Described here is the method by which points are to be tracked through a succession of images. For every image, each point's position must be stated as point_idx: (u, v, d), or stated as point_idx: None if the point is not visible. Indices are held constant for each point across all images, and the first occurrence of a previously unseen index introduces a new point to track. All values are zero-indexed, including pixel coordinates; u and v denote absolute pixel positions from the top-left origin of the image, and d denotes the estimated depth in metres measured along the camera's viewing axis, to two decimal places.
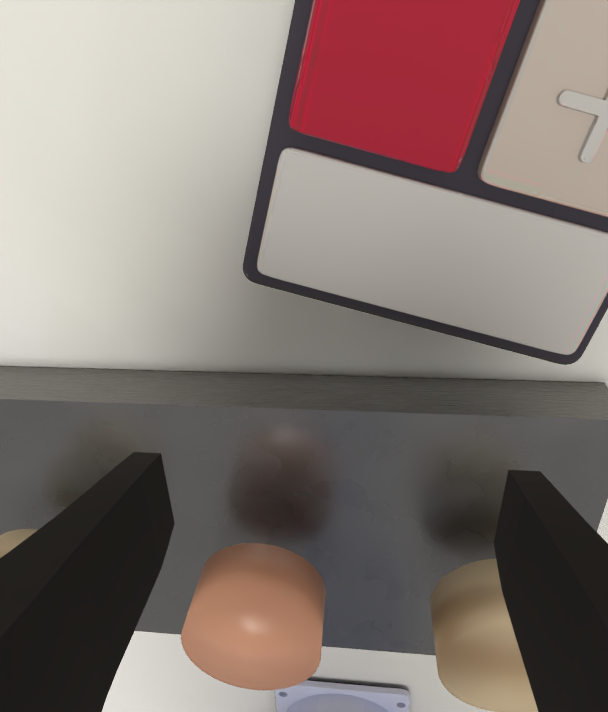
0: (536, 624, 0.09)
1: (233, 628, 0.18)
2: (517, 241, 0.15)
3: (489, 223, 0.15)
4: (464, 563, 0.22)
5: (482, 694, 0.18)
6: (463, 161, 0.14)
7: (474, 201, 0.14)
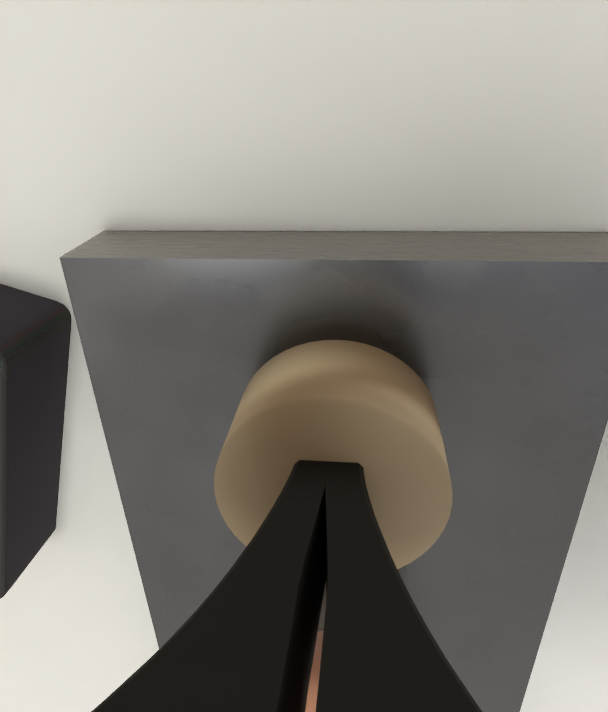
0: None
1: None
2: None
3: None
4: None
5: (400, 532, 0.11)
6: None
7: None
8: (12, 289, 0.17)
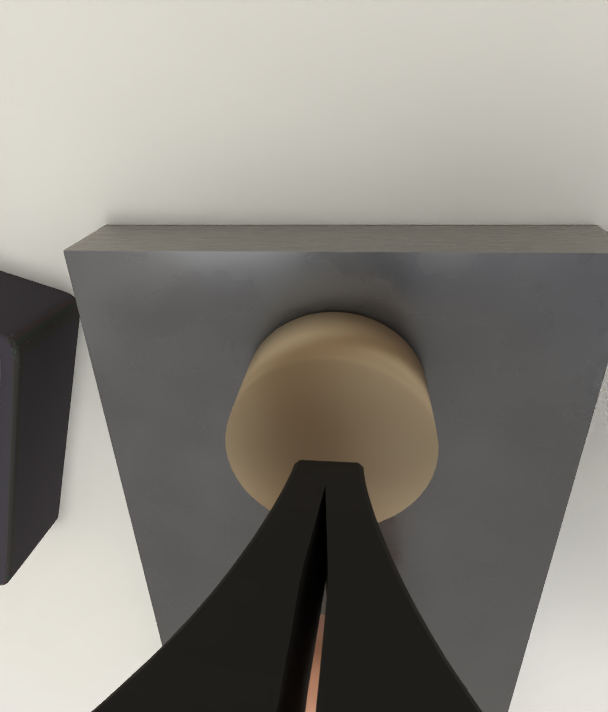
0: None
1: None
2: None
3: None
4: None
5: (392, 482, 0.13)
6: None
7: None
8: (22, 279, 0.17)
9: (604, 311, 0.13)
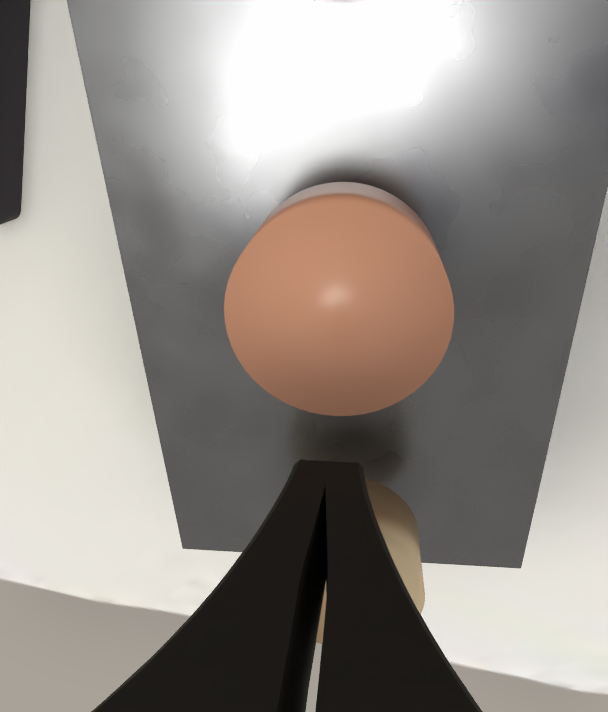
0: None
1: (288, 341, 0.12)
2: None
3: None
4: None
5: None
6: None
7: None
8: None
9: None
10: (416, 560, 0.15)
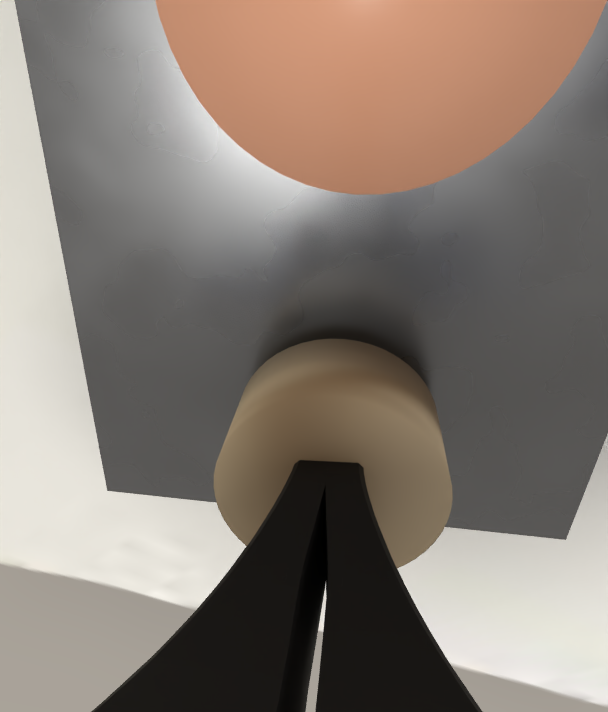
0: None
1: (272, 5, 0.06)
2: None
3: None
4: None
5: None
6: None
7: None
8: None
9: None
10: (443, 452, 0.11)
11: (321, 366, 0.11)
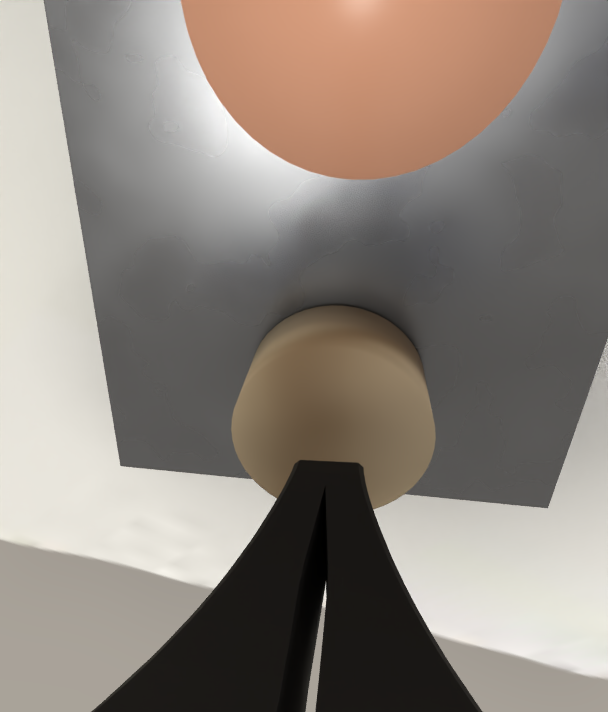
0: None
1: (281, 20, 0.07)
2: None
3: None
4: None
5: None
6: None
7: None
8: None
9: None
10: (428, 398, 0.13)
11: (324, 326, 0.13)
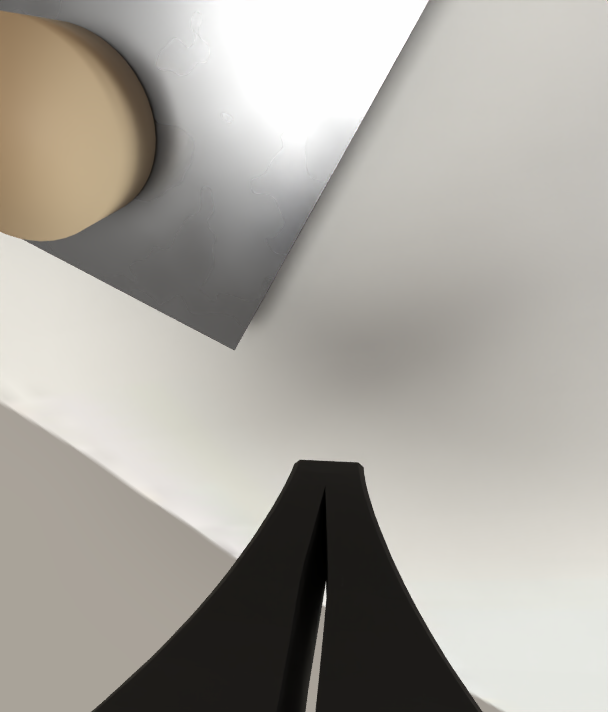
0: None
1: None
2: None
3: None
4: None
5: None
6: None
7: None
8: None
9: None
10: (125, 139, 0.13)
11: (52, 21, 0.12)
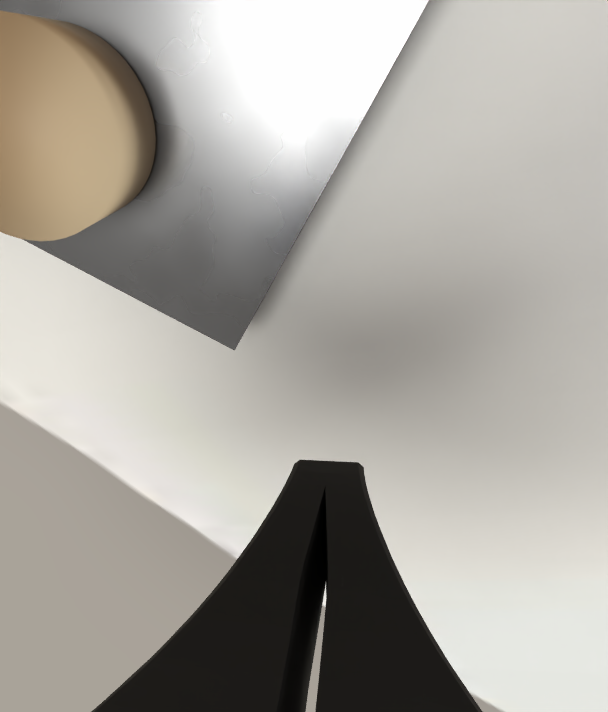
0: None
1: None
2: None
3: None
4: None
5: None
6: None
7: None
8: None
9: None
10: (125, 139, 0.13)
11: (52, 21, 0.12)
